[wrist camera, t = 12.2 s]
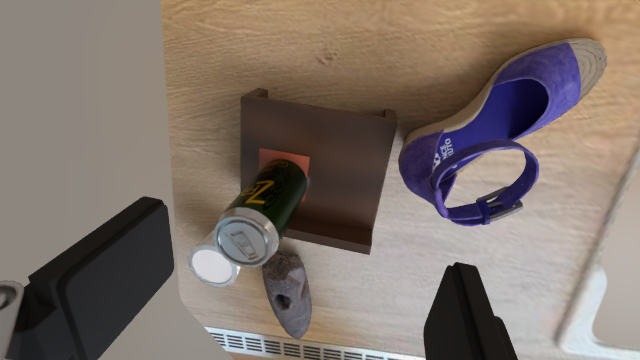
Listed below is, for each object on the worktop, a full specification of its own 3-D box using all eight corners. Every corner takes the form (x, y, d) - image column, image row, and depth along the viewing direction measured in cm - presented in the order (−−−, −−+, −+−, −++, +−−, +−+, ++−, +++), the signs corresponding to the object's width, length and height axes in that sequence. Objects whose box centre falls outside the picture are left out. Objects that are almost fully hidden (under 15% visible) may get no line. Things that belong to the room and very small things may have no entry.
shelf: (258, 88, 38) (227, 103, 30) (396, 110, 36) (398, 131, 29) (255, 192, 44) (229, 225, 37) (372, 216, 42) (369, 255, 35)
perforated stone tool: (321, 317, 52) (312, 357, 46) (290, 316, 53) (277, 354, 47) (305, 239, 46) (291, 273, 40) (270, 240, 47) (252, 273, 41)
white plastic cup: (265, 235, 47) (246, 267, 41) (242, 261, 50) (222, 295, 44) (226, 207, 46) (200, 235, 40) (205, 235, 49) (179, 266, 43)
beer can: (317, 189, 36) (287, 259, 25) (278, 206, 38) (235, 277, 27) (293, 148, 34) (250, 204, 24) (253, 167, 36) (197, 227, 26)
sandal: (605, 105, 32) (761, 165, 18) (406, 168, 38) (415, 245, 25) (595, 21, 29) (768, 20, 16) (382, 104, 36) (378, 152, 22)
